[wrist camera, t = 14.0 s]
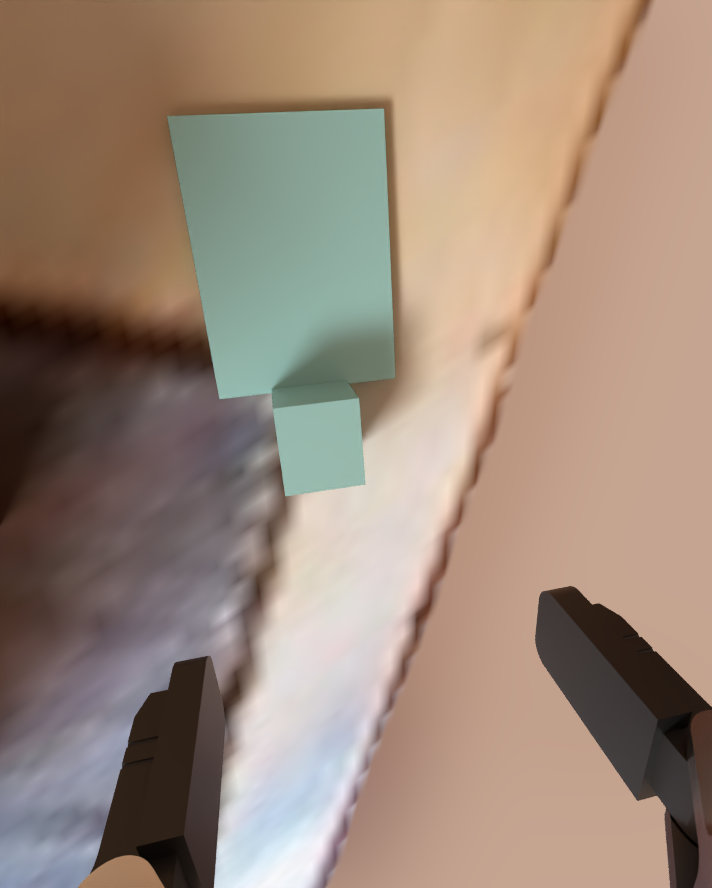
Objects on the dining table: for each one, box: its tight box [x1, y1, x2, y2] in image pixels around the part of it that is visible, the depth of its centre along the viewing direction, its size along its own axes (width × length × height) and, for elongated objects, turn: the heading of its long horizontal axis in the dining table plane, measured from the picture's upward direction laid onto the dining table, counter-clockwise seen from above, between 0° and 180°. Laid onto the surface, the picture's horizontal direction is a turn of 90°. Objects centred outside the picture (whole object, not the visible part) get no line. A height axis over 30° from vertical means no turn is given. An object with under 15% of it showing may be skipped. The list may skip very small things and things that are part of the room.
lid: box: [167, 109, 396, 496], centre depth 22 cm, size 17×9×4 cm, turn 4°
